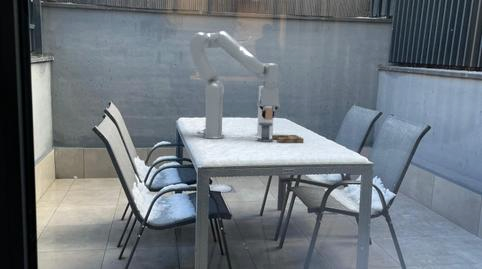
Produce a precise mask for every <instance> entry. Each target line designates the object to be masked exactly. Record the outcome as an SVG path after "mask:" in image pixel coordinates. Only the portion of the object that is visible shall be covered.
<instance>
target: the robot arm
mask: <svg viewBox="0 0 482 269" xmlns="http://www.w3.org/2000/svg"><path fill="white" fill-rule="evenodd" d="M213 48H220V49H222V50H223V51H224V52H226V53H227V54H228V55H229V56H230V57H232V58H233V60H235V61H237V62H238V63H239V64H241V65H242V66H243V67H244V68H245V69H247V71H249V73H250V74H252V75H254V76H256V77H257V76H263V82H261V83H260V86H263V88H262V90H261V95H260V100H259V99H258V101H257V103H256V106H257V107H260V108H261V110H262V116H263V118H265V113H266V111H265V107H266V106H272V109H273V115H272V118H273V119H274V117H275V111H277V109H279V108H281V103H280V100H279V99H280V98H279V96H280V95H279V88H277V87H278V75H279V65H278V63H271V62H265V63H263V62H261V61H260V60H258V59H257V58H256V57H255V56H253V54H251V53H250V52H249V51H248V50H247V49H246V47H245V46H243V45H242V43H240V42H238V40H236V39H235V38H234V37H233V36H231V35H230V33H228V32H227V31H225V30H220V31H219V30H218V31H217V32H207V33H206V32H204V31H198V32H196V33H194V34H193V35H192V37H191V38H190V40H189V46H188V52H189V54H190V57H191V60H192V61H193V64H194V67H195V68H196V72H197V73H198V76H199V78H200V79H201V81H203V82H204V86H205V87H206V88H205V92H204V93H205V128H203V129H202V130H199V129H198V130H197V131H196V133H197V134H199V135H202V138H203V139H214V140H218V139H219V140H221V139H224V138H225V134H223V106H224V104H223V100H224V99H223V96H224V93H225V87H224V86H225V85H224V84H223V82H222V79H221V77H220V75H219V73H218V71H217V69H216V67H215V66H214V65H212V63H211V61H210V60H209V58H208V54H207V52H206V51H205V49H213ZM260 104H261V105H263V106H261V105H260Z"/></svg>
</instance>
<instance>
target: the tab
mask: <svg viewBox="0 0 482 269" xmlns="http://www.w3.org/2000/svg"><path fill="white" fill-rule="evenodd" d="M265 111H266V113H265V118H264V119H267V120H272V115H273V109H271V108H265Z"/></svg>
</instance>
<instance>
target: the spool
mask: <svg viewBox="0 0 482 269" xmlns="http://www.w3.org/2000/svg"><path fill="white" fill-rule="evenodd" d="M259 125H261V126H262V131H261V136H260V137H259V138H256V141H257V142H260V143H272V142H274V140H273V139H272V138H270V136H269V130H270V126H272V125H273V126H274V122H273V123H266V122H261V123H259Z"/></svg>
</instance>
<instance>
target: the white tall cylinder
mask: <svg viewBox="0 0 482 269" xmlns="http://www.w3.org/2000/svg"><path fill="white" fill-rule="evenodd" d="M262 88H263V86H262V85H259V86H258V101H259V100H260V95H261V90H262ZM260 105H261V104H260ZM261 106H263V105H261ZM257 107H258V106H257ZM265 108H271V109H272V106H266V107H265ZM261 122H266V123H273V125H272V126H270V130H269V137H272V135H274V117H273V118H272V120H267V119H264V118H263V116H262V110H261V108H260V107H258V108H257V131H256V132H257V133H256V134H257V136H260V137H261V131H262V126H261V125H259V123H261Z"/></svg>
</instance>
